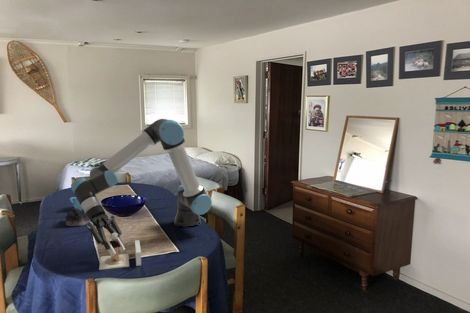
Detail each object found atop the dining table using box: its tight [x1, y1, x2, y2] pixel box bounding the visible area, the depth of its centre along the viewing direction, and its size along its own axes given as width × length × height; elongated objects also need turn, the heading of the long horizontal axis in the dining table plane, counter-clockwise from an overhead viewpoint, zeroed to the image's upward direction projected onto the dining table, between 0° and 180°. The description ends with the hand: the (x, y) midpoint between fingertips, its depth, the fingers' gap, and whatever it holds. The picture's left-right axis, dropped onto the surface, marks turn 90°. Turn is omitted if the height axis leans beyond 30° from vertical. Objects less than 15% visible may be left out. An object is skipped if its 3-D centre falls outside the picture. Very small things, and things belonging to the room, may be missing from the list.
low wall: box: [134, 239, 142, 267], centre depth 159 cm, size 2×14×6 cm, turn 18°
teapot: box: [69, 196, 84, 213], centre depth 226 cm, size 13×14×11 cm
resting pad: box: [98, 253, 130, 271], centre depth 156 cm, size 12×12×1 cm
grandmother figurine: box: [109, 233, 122, 262], centre depth 155 cm, size 8×4×13 cm, turn 83°
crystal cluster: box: [65, 208, 90, 227], centre depth 201 cm, size 13×14×10 cm
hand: (118, 252), depth 153 cm, fingers open, 4 cm apart
